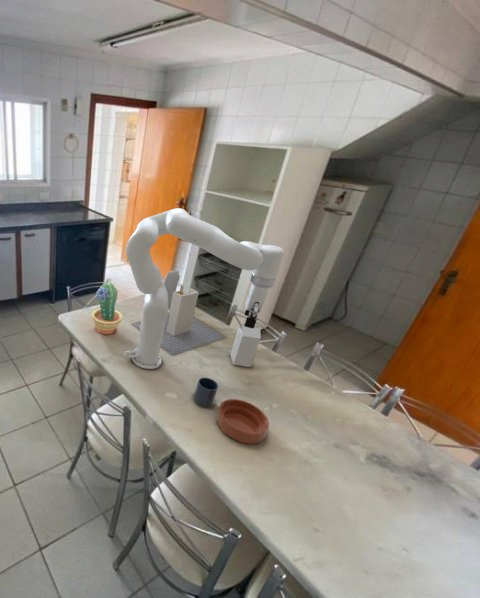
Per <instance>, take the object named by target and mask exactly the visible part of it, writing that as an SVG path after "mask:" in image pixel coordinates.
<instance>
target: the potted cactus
mask: <svg viewBox="0 0 480 598" xmlns="http://www.w3.org/2000/svg"><path fill="white" fill-rule="evenodd" d="M96 298H97V301H98V303H99V307H100V308H97V309H94V310H93V311H92V312H91V319H92V321H93V322H94V323H93V324H94V325H95V327H96V331H97V332H99V333H100V334H103V335H110V334H113V333H114V332H115V329H116V328H117V327H118V326H119V324H120V323H121V322H122V321H123V319H124V318H123V314H122V313H121V312H119V311H118V309H117V310H116V309H115V305H116V302H117V300H118V290H117V288H116V286H115V285H114V284H113V283H112V282H111V281H110V282H108V281H106V282H104V283H102V285H101V286H100V287H99V288H98V290H97V291H96Z"/></svg>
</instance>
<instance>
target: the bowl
mask: <svg viewBox="0 0 480 598" xmlns="http://www.w3.org/2000/svg"><path fill="white" fill-rule="evenodd" d="M215 417H216V423H217V425H218V426H219V429H221V430H222V432H223V433H224V434H226V435H227V436H229V437H230V438H231V439H233V440H235V441H238V442H240V443H244V444H247V445H249V444H250V445H251V444H252V445H253V444H254V445H255V444H258V443H261V442H262V441H263V440H264V439H265V437H266V436H267V433H268V431H269V429H270V422H269V421H270V420H269V418H268V417H267V416H266V414H265V413H264V412H263V410H261V409H260V408H259V407H258V406H257V405H254V404H252V403H250V402H249V401H246V400H243V399H238V398H229V399H225V400H224V401H222V402H220V405H219V407H218V410H217V413H216V416H215Z"/></svg>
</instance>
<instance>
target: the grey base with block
mask: <svg viewBox="0 0 480 598" xmlns="http://www.w3.org/2000/svg"><path fill="white" fill-rule="evenodd" d="M199 294H200V293H199V291H197V290H195V289H194V288H191V287H189V290H188V293H187V294H185V292H184V285H183V283H181V284H180V288H179V290H176V291H175V290H174V292H173V296H172V301H171V306H170V307H169V308H168V314H167V318H166V322H165V326H164V331H163V337H162V342H161V348H163V349H164V351H165V350H166V351H167V352H168V353H169V354H170V355H172V356H173V355H174V356H175V355H177V354H180V353H182V352H186V351H189V350H191V349H194V348H197V347H200V346H203V345H206V344H209V343H212V342H215V341H217V340H220V339H223V338H225V335H223V334H221V333H219V332H217V331H216V330H214V329H213V328H211V327H209V326H208V325H207V324H204V323H203V322H202V321H200V320H198V319H196V318H195V317H194V316H195V313H196V312H195V310H196V306H197V302H198V298H199ZM132 325H133V326H134V327H135V328H137V329H138V330H140V325H141V321H140V322H137V323H134V324H132Z"/></svg>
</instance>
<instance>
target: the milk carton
mask: <svg viewBox="0 0 480 598" xmlns="http://www.w3.org/2000/svg"><path fill="white" fill-rule="evenodd" d="M244 325H245V322H244V323H242V325H240V326H239V327H238V329H237V332H236V335H235V338H234V341H233V345H232V348H231V351H230V354H229V355H230V356H229V357H230V359H231V361H232V362H231V363H232V364H233V365H234V366H239V367H246V368H251V367H252V365H253V361H254V359H255V356H256V353H257V350H258V347H259V344H260V342H261V339H262V335H261V331H262V330H261V328H262V325H260V324H259V325H258V324H255V326H254V328H253V329H252V328H248V327H245V326H244Z"/></svg>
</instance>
